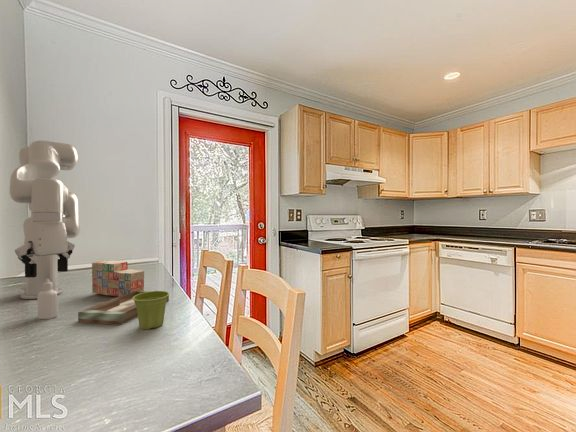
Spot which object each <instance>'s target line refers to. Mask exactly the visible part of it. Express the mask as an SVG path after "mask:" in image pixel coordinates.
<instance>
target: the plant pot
mask: <svg viewBox="0 0 576 432" xmlns="http://www.w3.org/2000/svg"><path fill="white" fill-rule="evenodd" d="M150 291H151V292H145V293H140V294H137V295H135V296H134V297H133V300H134V302H135V305H136V308H137V314H138V316H137V320H138V325H139V328H140V329H142V330H150V329H152V328H153V329H154V328H155V329H156V328H159V327H161V326H163V325H164V321H165V314H166V313H165V312H166V305H167V302H168V301H167V298H168V296H169V297H170V292H169V291H165V290H153V291H152V290H150Z"/></svg>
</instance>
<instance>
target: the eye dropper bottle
mask: <svg viewBox="0 0 576 432" xmlns="http://www.w3.org/2000/svg"><path fill="white" fill-rule="evenodd" d="M52 289H53V283H52V282H50V280H49V278H47V279H46V281H45V283H43V284H42V290H43V291H41V292H39V293H38V299H37V318H38V319H40V320H51V319H55V318H57V317H58V295H57V293H56V292H55V291H54V290H52Z"/></svg>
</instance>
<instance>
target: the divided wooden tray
mask: <svg viewBox="0 0 576 432" xmlns="http://www.w3.org/2000/svg"><path fill="white" fill-rule="evenodd" d="M151 291H152V290H150V291H148V290H147V291H146V290H144V291H135V292H132V293H128V294H125V295H122V296H120V297H119V296H116V297H115V298H111V299H110V300H106V301H103V302H102V303H99V304H95V305H93V306H91V307H88V308H85V309H82V310H80V311H78V312H77V314H78V315H77V318H78V321H77V322H78V323H85V324H101V325H102V324H103V325H104V324H105V325H114V326H115V325H117V326H121V325H123V324H126V323H127V322H129V321H131V320H133V319H135V318H138V314H137V308H136V305H135V302H134V300H133V297H134V296H135V295H137V294H140V293H145V292H151ZM169 297H170V295H169V296H168V298H167V301H166V302H168V301H170V298H169Z"/></svg>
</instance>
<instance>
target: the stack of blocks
mask: <svg viewBox="0 0 576 432" xmlns="http://www.w3.org/2000/svg"><path fill="white" fill-rule="evenodd" d="M128 266H129V265H128V261H122V260H121V261H120V260H102V261H101V260H100V261H95V262H92V263H91V278H92V279H91V281H92V285H91V287H92V288H91V289H92V291H91V293H92V294H97V295H105V296H114V297H120V296H122V295H125V294H128V293H132V292H135V291H145V287H144V286H145V271H144V270H139V269H138V270H137V269H131V268H130V269H129V268H128Z"/></svg>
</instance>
